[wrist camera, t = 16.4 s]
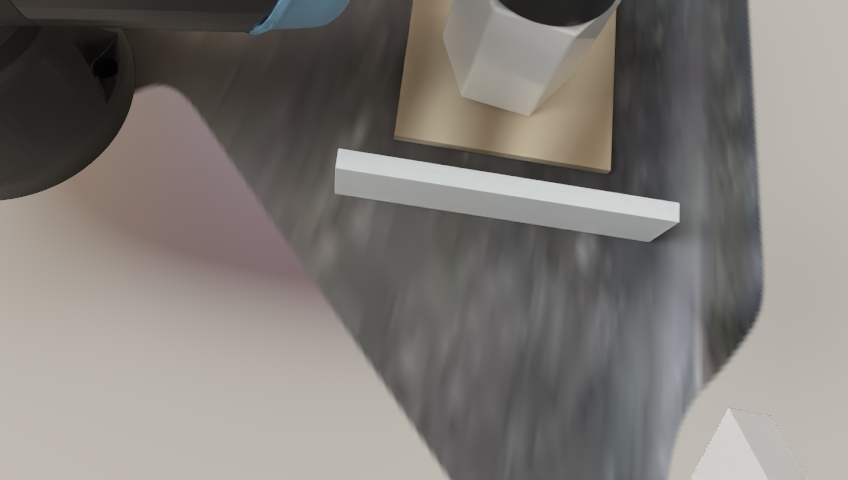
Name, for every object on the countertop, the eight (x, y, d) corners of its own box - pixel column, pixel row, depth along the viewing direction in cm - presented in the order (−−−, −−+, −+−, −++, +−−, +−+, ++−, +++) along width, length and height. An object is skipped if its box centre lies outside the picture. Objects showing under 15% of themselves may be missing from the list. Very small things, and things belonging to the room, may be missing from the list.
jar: (582, 26, 47) (662, -109, 36) (559, 129, 45) (638, 19, 34) (456, -13, 47) (497, -161, 36) (426, 89, 44) (460, -36, 33)
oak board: (393, 139, 44) (394, 135, 43) (419, -43, 48) (420, -49, 48) (607, 174, 45) (610, 170, 45) (613, -7, 49) (616, -12, 49)
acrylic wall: (334, 193, 42) (335, 167, 38) (337, 175, 43) (338, 148, 39) (648, 242, 44) (679, 222, 40) (649, 224, 44) (679, 203, 41)
